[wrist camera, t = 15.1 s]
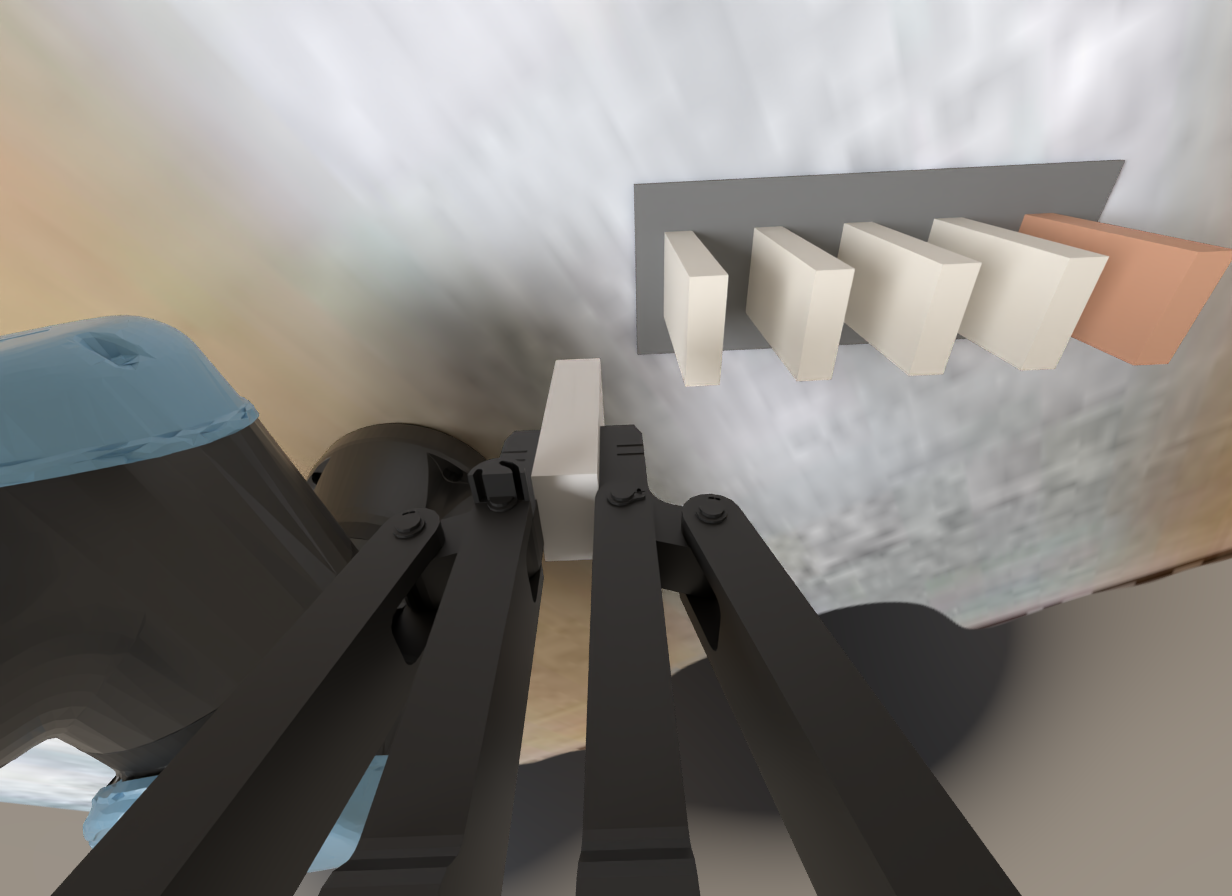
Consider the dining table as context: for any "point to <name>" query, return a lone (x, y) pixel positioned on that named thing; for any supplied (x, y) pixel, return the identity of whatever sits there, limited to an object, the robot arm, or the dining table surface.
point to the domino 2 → (798, 300)
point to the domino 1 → (694, 307)
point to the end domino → (1137, 285)
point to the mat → (837, 221)
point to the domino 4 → (1020, 290)
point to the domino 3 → (906, 295)
